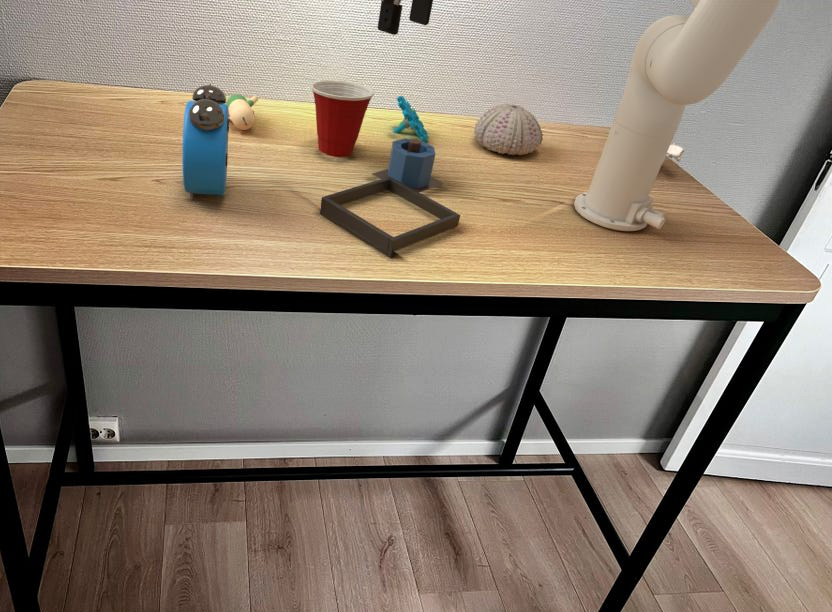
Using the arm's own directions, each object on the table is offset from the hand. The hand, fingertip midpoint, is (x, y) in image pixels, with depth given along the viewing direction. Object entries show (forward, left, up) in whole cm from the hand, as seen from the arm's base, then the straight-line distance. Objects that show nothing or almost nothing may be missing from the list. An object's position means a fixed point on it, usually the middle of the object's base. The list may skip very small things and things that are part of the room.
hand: (403, 27), depth 109 cm
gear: (+10, -19, -24) cm, 32 cm away
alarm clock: (+10, +28, -24) cm, 39 cm away
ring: (-4, -3, -23) cm, 24 cm away
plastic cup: (+11, 0, -24) cm, 27 cm away
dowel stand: (-4, -3, -24) cm, 25 cm away
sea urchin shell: (-2, -34, -24) cm, 42 cm away
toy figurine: (+30, +7, -24) cm, 39 cm away
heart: (-22, -53, -24) cm, 63 cm away
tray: (-12, +10, -24) cm, 29 cm away
